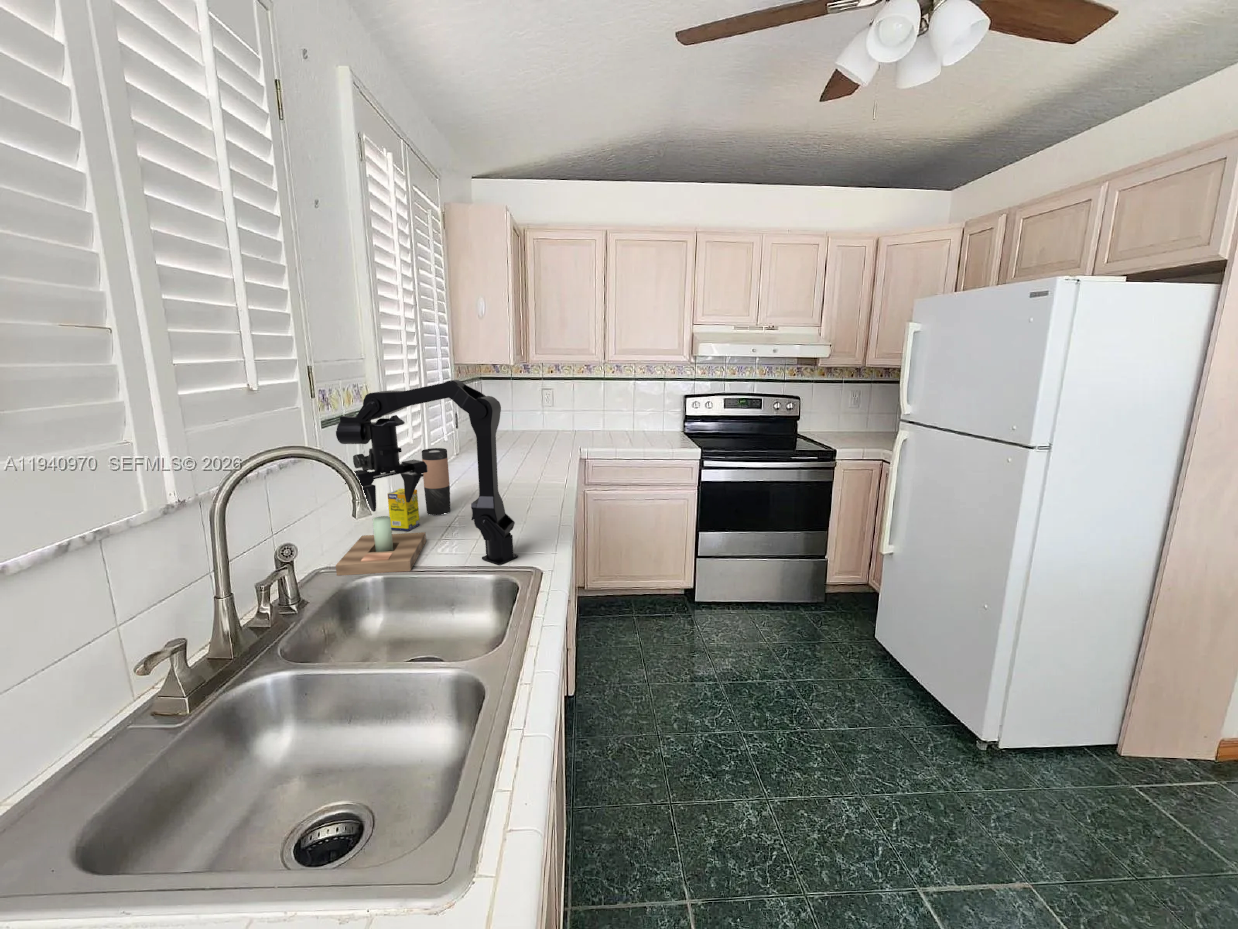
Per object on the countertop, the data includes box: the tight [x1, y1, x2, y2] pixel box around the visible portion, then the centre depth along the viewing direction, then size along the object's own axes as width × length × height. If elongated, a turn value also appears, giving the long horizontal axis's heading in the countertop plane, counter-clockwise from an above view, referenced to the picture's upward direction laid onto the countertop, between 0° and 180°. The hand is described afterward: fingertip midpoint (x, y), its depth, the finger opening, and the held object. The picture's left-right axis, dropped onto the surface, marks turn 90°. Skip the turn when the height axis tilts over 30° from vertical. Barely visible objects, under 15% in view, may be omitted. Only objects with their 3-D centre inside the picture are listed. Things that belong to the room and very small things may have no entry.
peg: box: [372, 515, 393, 552], centre depth 131 cm, size 4×4×10 cm
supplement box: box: [387, 488, 421, 532], centre depth 153 cm, size 6×6×11 cm
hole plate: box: [335, 531, 427, 577], centre depth 132 cm, size 20×16×3 cm
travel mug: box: [421, 447, 451, 516], centre depth 166 cm, size 8×8×20 cm
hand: (391, 506), depth 131 cm, fingers open, 9 cm apart
